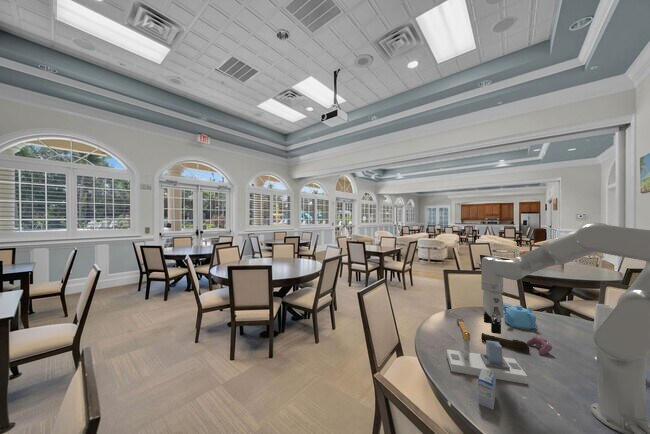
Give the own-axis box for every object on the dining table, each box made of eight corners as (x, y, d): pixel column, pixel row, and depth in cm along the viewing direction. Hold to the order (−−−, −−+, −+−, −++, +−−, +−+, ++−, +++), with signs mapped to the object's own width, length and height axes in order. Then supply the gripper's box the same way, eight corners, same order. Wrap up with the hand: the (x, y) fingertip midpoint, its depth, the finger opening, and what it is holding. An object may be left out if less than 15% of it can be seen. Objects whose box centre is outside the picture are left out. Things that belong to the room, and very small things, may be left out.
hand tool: (480, 342, 124) (480, 332, 124) (482, 339, 127) (482, 330, 127) (529, 355, 111) (528, 345, 111) (529, 352, 114) (529, 342, 114)
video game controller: (549, 359, 110) (556, 346, 110) (538, 354, 111) (546, 340, 110) (534, 348, 120) (541, 335, 119) (524, 343, 120) (531, 331, 120)
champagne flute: (611, 366, 101) (610, 309, 102) (590, 358, 108) (589, 304, 108) (621, 363, 103) (620, 307, 104) (600, 355, 110) (598, 302, 110)
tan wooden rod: (463, 324, 118) (462, 319, 118) (471, 341, 102) (470, 335, 102) (456, 323, 119) (456, 318, 119) (463, 340, 103) (463, 334, 103)
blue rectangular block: (502, 367, 97) (502, 347, 98) (489, 365, 99) (489, 345, 99) (498, 361, 102) (498, 341, 102) (486, 359, 103) (486, 340, 103)
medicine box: (481, 391, 88) (480, 367, 88) (496, 396, 85) (495, 372, 86) (478, 404, 82) (477, 378, 82) (494, 410, 79) (493, 384, 80)
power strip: (527, 384, 92) (527, 354, 92) (451, 371, 100) (450, 344, 100) (514, 365, 103) (513, 339, 103) (446, 355, 111) (446, 331, 112)
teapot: (497, 317, 153) (497, 300, 153) (531, 322, 146) (531, 303, 146) (504, 327, 139) (504, 308, 139) (542, 333, 132) (542, 312, 132)
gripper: (511, 294, 91) (511, 339, 92) (495, 282, 108) (495, 320, 108) (488, 292, 94) (488, 336, 94) (476, 280, 110) (476, 318, 110)
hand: (491, 327), depth 101 cm, fingers open, 9 cm apart
